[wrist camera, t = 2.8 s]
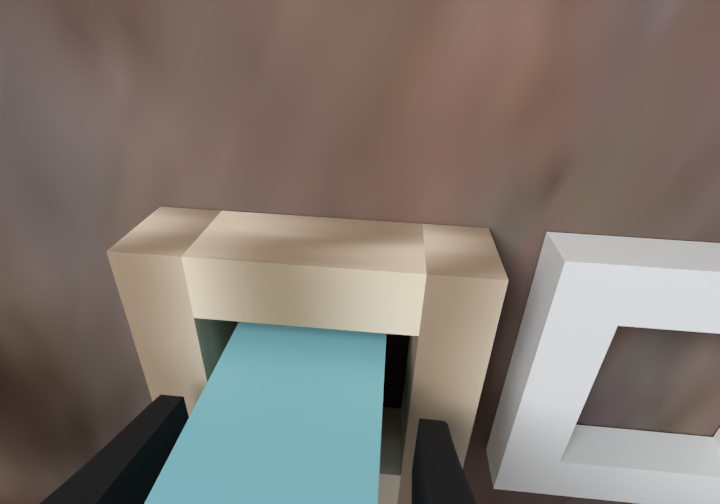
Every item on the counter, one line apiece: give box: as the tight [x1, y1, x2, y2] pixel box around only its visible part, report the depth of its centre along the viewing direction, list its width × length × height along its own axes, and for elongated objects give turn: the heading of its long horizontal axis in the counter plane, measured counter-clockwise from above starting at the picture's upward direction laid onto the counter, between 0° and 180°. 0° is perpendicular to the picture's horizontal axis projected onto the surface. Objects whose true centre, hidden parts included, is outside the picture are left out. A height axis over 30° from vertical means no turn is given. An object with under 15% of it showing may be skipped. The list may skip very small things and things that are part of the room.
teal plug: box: [144, 322, 387, 504], centre depth 10 cm, size 4×4×8 cm
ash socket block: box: [106, 207, 509, 504], centre depth 13 cm, size 9×9×2 cm
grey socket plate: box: [486, 232, 720, 504], centre depth 13 cm, size 9×9×2 cm
